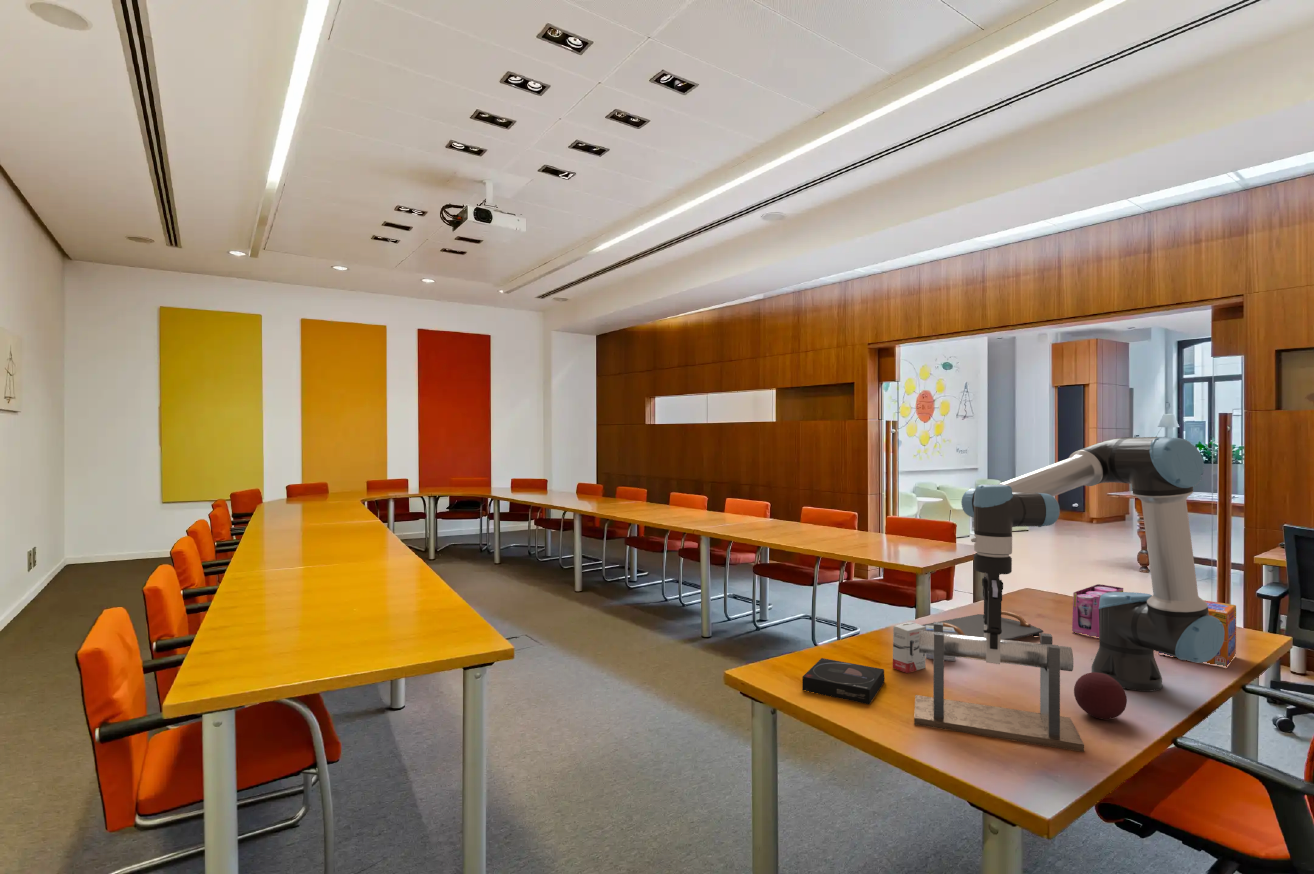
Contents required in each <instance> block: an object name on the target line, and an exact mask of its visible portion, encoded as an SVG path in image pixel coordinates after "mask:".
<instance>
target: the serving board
mask: <svg viewBox="0 0 1314 874" xmlns="http://www.w3.org/2000/svg"><path fill="white" fill-rule="evenodd" d="M983 616H984V613H981V614H980V613H979V614H978V613H977V614H972V615H966V616H962V617H956V618H951V619H945V620H940V621H939V622H941V623H943V627H952V628H954V630H955V634H957V635H966V636H975V637H984V632H983V630H984V625H987V624H985V623H984V618H983ZM1003 616H1009V617H1012V618H1015V620H1014V619H1012V618H1011V619H1010V618H1006V617H1003ZM921 625H922V626H926V625H929V626H934V622H930V623H924V624H921ZM1001 630H1002V632H1001V634H1000V639H1003V640H1012V641H1014V640H1016V639H1021V638H1025V637H1026V638H1027V637H1029V636H1032V635H1033V637H1034V636H1040V633H1044V630H1042V628H1039V627H1036V626H1034V625H1031V623H1028V622H1027V621H1026V620H1025V618H1023V617H1022V616H1021V615H1019V614H1017V613H1015V612H1011V611H1006V610H1001Z"/></svg>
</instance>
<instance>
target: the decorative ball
mask: <svg viewBox="0 0 1314 874" xmlns="http://www.w3.org/2000/svg"><path fill="white" fill-rule="evenodd" d="M1124 689H1125V688H1122V686H1121V685H1120V684H1119V682H1117V681H1116V680H1115V679H1114V678H1112V677H1110V676H1109V675H1106V674H1103V673H1098V672H1092V673H1091V672H1088V673H1084V674H1083V675H1081V676H1080V677H1079V678H1077V680H1076V681H1075V683H1074V688H1073V694H1074V695H1073V696H1074V698H1075V701H1076V703H1077V704H1078V706H1079V708H1080V709H1081V710H1082V711H1084V712H1085V713H1086V714H1087V715H1089V716H1091V717H1093V718H1095V719H1100V720H1113V719H1115V718H1117V717H1119V716H1120V715H1122V714H1123V713H1124V711H1125V709H1126V708H1127V704H1128V700H1127V694H1126V691H1125V690H1124Z"/></svg>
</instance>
